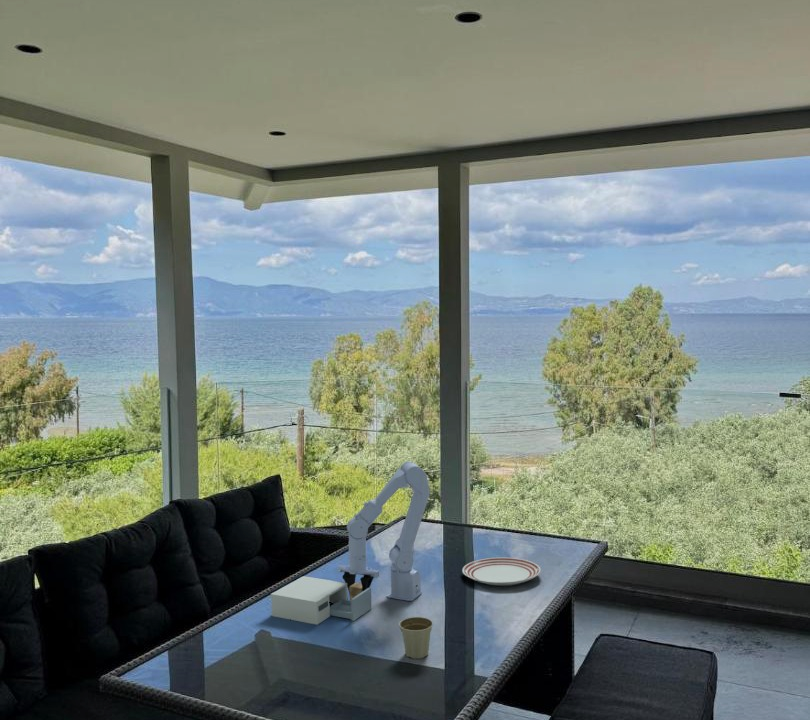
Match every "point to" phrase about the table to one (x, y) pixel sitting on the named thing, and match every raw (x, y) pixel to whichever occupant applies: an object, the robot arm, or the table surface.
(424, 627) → the flower pot
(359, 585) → the oak block
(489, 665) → the table surface
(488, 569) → the dinner plate
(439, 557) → the table surface
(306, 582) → the player box
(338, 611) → the sliding drawer
